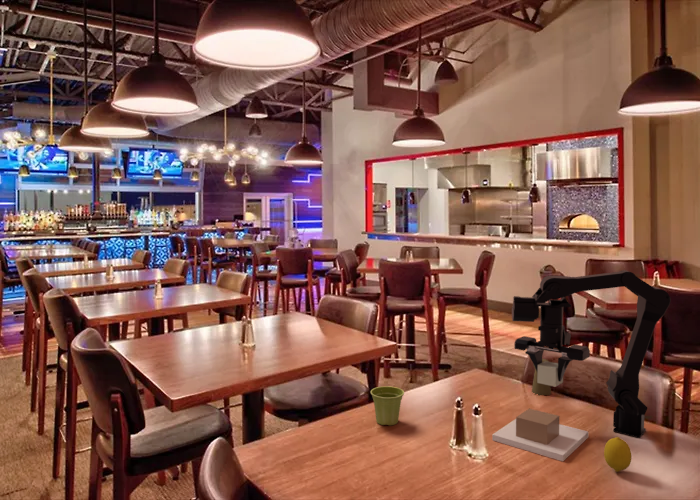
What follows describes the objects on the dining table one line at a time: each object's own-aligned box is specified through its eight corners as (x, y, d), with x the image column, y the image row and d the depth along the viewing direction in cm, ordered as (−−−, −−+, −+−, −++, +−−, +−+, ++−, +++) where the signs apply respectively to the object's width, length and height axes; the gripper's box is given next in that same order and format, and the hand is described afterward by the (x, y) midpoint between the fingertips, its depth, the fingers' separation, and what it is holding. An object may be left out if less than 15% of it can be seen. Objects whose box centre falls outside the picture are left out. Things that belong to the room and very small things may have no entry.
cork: (554, 395, 170) (554, 362, 169) (535, 395, 170) (535, 362, 169) (547, 389, 176) (548, 356, 175) (529, 389, 176) (529, 357, 175)
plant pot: (411, 422, 149) (411, 392, 148) (385, 431, 143) (385, 399, 142) (389, 413, 156) (388, 384, 155) (364, 420, 150) (363, 390, 150)
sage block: (562, 382, 145) (563, 364, 145) (555, 386, 142) (555, 368, 141) (545, 378, 149) (545, 361, 148) (537, 382, 145) (537, 364, 145)
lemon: (628, 467, 121) (629, 433, 121) (632, 479, 116) (634, 443, 116) (602, 464, 123) (602, 430, 123) (605, 475, 118) (606, 440, 117)
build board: (588, 437, 138) (588, 412, 138) (562, 461, 125) (563, 434, 124) (522, 419, 150) (522, 397, 150) (492, 440, 137) (492, 415, 136)
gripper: (597, 322, 143) (596, 379, 144) (531, 314, 156) (530, 366, 157) (582, 329, 135) (581, 389, 136) (513, 319, 148) (513, 374, 149)
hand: (550, 378), depth 145 cm, fingers closed on sage block, 5 cm apart
